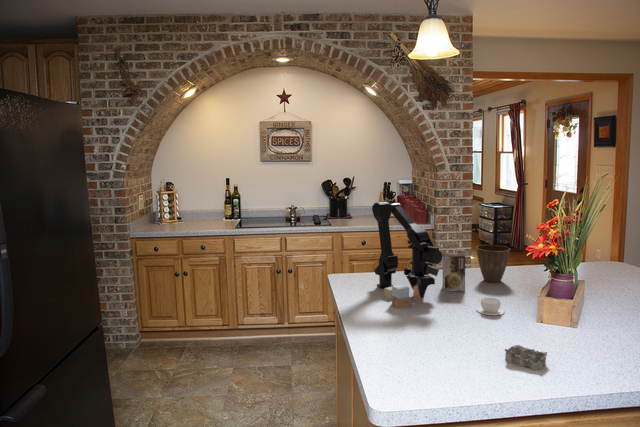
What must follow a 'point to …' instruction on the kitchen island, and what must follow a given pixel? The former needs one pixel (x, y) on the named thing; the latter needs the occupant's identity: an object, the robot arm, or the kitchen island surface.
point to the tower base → (401, 302)
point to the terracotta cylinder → (416, 293)
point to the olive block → (388, 292)
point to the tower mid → (400, 291)
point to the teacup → (490, 306)
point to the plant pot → (492, 261)
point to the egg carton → (532, 357)
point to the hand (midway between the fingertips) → (418, 295)
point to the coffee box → (453, 272)
